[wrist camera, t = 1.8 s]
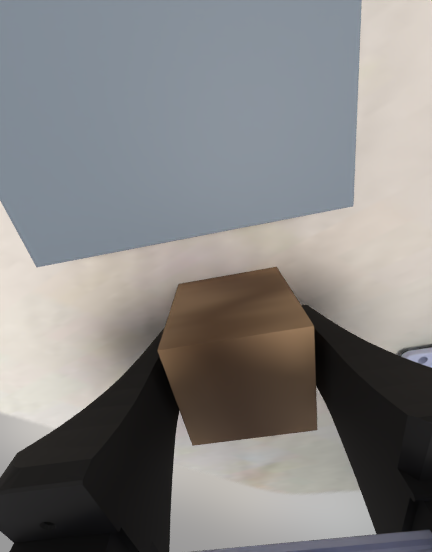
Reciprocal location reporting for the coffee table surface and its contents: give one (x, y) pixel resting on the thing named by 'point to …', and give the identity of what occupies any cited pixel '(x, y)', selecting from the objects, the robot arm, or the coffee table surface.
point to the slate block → (172, 118)
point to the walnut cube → (240, 358)
